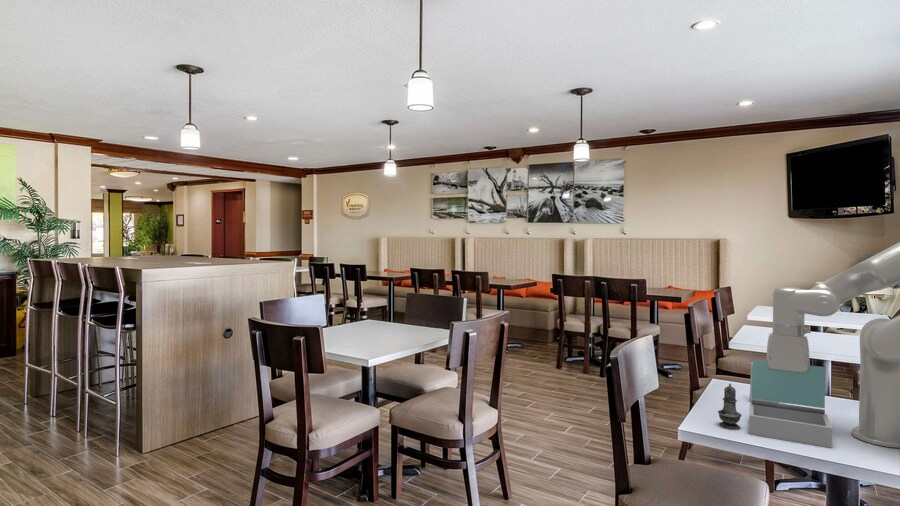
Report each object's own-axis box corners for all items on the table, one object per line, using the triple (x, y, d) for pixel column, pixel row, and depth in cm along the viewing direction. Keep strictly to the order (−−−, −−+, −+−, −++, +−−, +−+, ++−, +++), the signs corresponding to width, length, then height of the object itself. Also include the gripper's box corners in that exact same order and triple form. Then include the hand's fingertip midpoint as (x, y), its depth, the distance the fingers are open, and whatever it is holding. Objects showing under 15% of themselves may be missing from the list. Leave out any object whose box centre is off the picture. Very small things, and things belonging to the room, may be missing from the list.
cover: (824, 414, 139) (824, 414, 140) (825, 367, 141) (824, 366, 142) (751, 404, 148) (751, 403, 149) (752, 359, 149) (752, 359, 150)
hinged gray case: (826, 432, 140) (826, 414, 140) (831, 448, 130) (832, 428, 130) (749, 420, 149) (749, 403, 149) (748, 433, 139) (749, 415, 139)
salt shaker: (744, 426, 144) (745, 383, 144) (735, 431, 141) (736, 387, 140) (722, 420, 149) (723, 379, 149) (713, 425, 145) (714, 382, 145)
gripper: (819, 331, 146) (818, 396, 146) (757, 326, 153) (756, 388, 154) (821, 335, 139) (820, 403, 140) (757, 330, 147) (755, 394, 147)
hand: (786, 395), depth 147 cm, fingers closed
